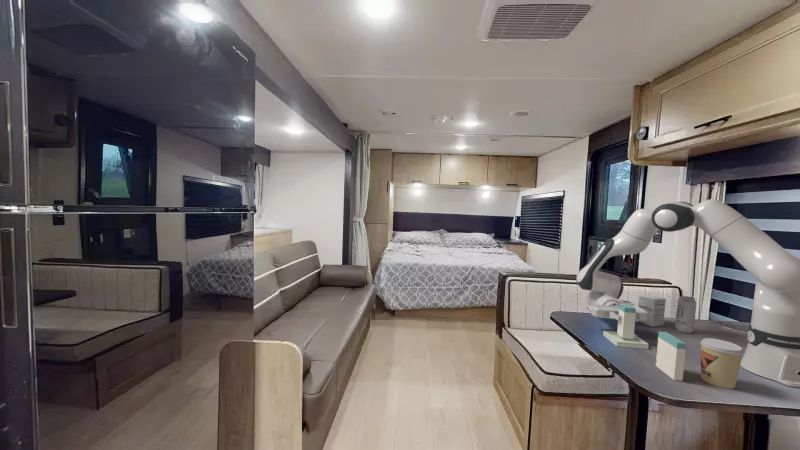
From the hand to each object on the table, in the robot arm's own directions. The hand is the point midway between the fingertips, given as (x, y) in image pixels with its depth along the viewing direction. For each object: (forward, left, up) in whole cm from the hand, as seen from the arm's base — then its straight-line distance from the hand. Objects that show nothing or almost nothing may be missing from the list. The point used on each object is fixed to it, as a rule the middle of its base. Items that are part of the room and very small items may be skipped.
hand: (627, 319), depth 128 cm
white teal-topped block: (0, -1, -7) cm, 7 cm away
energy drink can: (-28, -26, -10) cm, 39 cm away
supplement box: (-17, -31, -10) cm, 36 cm away
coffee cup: (-19, +22, -10) cm, 31 cm away
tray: (0, -1, -10) cm, 10 cm away
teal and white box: (-6, +22, -10) cm, 25 cm away
